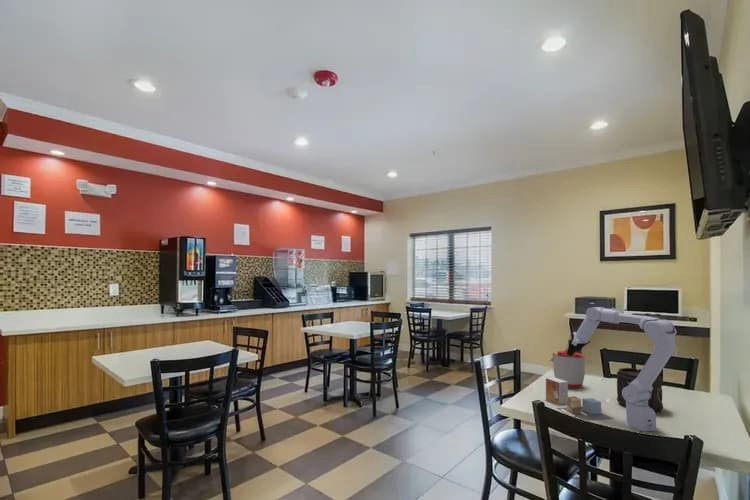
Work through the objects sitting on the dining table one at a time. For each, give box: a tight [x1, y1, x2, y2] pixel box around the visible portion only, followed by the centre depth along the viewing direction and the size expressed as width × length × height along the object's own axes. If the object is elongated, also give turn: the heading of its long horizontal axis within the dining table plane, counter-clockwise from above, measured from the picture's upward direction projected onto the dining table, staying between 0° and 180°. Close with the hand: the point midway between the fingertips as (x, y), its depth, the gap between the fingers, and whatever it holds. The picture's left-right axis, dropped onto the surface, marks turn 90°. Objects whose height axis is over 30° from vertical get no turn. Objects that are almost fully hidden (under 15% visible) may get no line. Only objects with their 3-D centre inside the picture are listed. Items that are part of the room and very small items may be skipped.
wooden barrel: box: [616, 367, 664, 414], centre depth 174 cm, size 18×18×16 cm
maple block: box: [566, 395, 582, 414], centre depth 164 cm, size 4×4×6 cm
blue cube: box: [581, 397, 602, 414], centre depth 165 cm, size 5×5×5 cm
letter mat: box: [556, 406, 615, 422], centre depth 163 cm, size 15×16×1 cm
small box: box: [545, 376, 569, 405], centre depth 178 cm, size 8×6×10 cm
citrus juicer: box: [549, 348, 586, 390], centre depth 206 cm, size 16×17×20 cm
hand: (572, 352), depth 178 cm, fingers open, 7 cm apart
